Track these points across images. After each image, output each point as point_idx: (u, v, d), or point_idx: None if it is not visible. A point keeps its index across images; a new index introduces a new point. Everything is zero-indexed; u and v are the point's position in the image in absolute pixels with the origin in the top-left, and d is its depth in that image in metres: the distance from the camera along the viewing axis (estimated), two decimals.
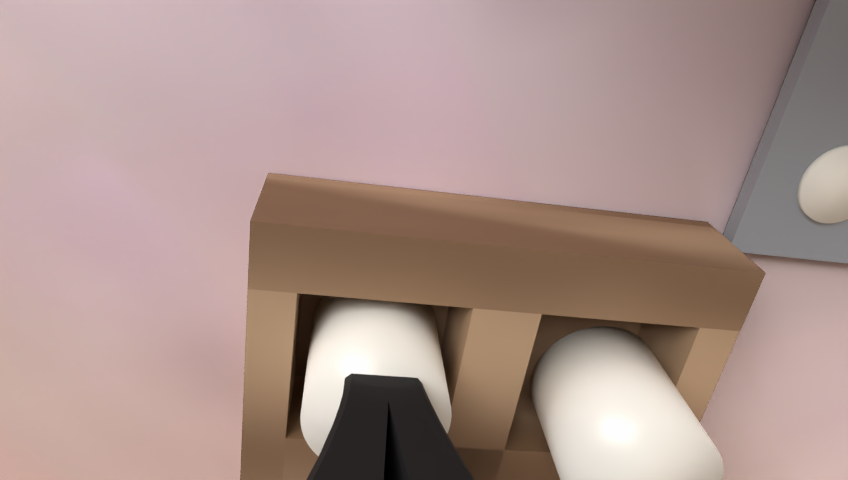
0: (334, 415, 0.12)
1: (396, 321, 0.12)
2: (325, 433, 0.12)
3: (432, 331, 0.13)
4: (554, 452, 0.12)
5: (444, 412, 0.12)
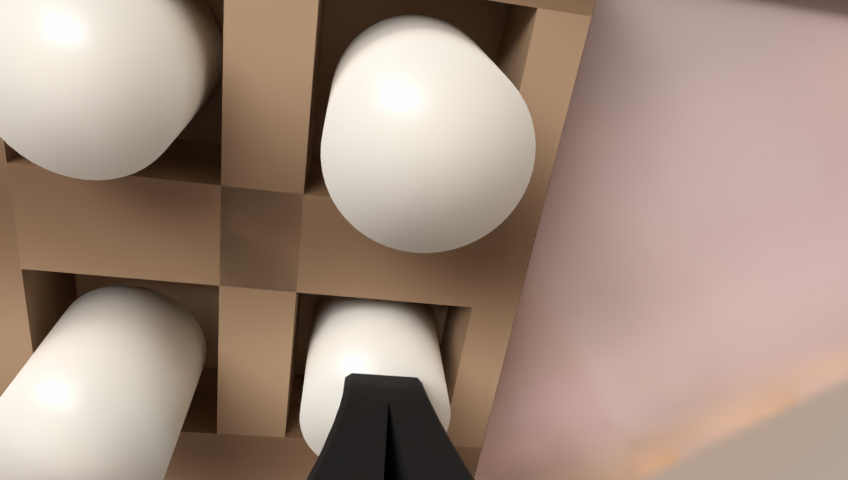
0: (14, 73, 0.09)
1: None
2: (9, 105, 0.09)
3: (188, 13, 0.10)
4: None
5: (170, 76, 0.09)
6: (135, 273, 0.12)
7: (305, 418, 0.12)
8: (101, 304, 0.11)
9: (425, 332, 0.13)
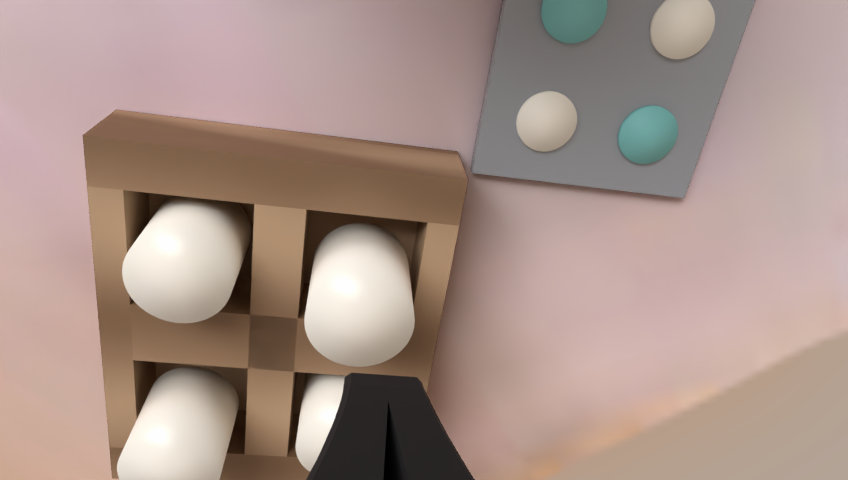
0: (146, 274, 0.17)
1: (199, 213, 0.17)
2: (142, 288, 0.17)
3: (233, 224, 0.18)
4: None
5: (226, 274, 0.17)
6: (199, 362, 0.20)
7: (299, 447, 0.20)
8: (179, 380, 0.19)
9: None
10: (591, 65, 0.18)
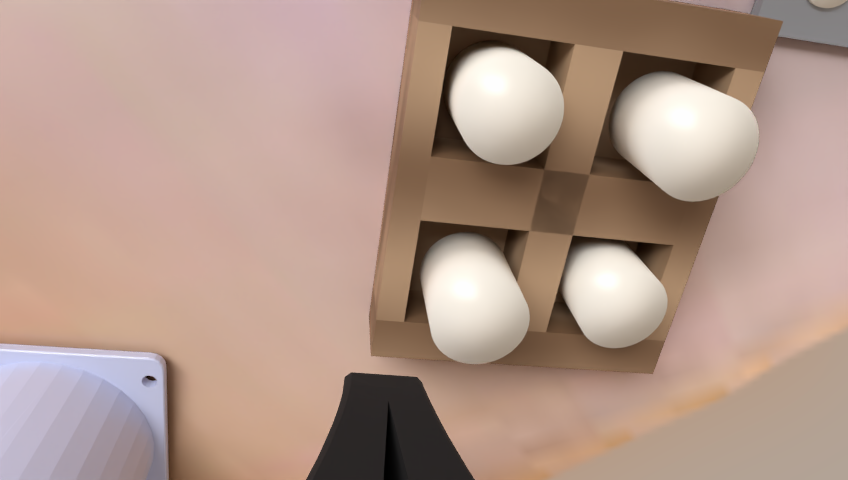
0: (482, 107, 0.16)
1: (519, 53, 0.17)
2: (474, 124, 0.17)
3: None
4: (636, 142, 0.17)
5: (559, 109, 0.17)
6: (484, 223, 0.19)
7: (583, 309, 0.20)
8: (465, 241, 0.19)
9: None
10: None
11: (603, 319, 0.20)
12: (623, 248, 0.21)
